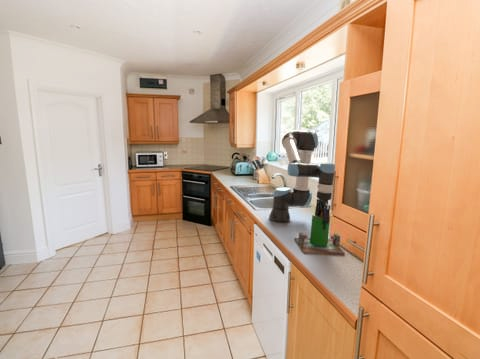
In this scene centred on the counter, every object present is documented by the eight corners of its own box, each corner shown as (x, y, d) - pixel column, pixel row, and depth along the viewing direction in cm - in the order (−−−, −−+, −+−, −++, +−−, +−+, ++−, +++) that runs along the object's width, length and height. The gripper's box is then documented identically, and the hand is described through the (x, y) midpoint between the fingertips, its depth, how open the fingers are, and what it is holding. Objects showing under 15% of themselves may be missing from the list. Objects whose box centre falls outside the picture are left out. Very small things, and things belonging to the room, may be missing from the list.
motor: (315, 237, 151) (318, 204, 147) (330, 242, 145) (334, 207, 142) (307, 242, 143) (311, 207, 139) (323, 247, 137) (327, 211, 134)
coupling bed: (294, 240, 153) (295, 227, 152) (330, 241, 155) (332, 229, 153) (303, 253, 135) (305, 240, 134) (344, 255, 137) (346, 241, 136)
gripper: (311, 187, 149) (307, 225, 153) (324, 195, 129) (319, 238, 133) (324, 188, 150) (319, 225, 154) (339, 196, 130) (333, 239, 134)
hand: (319, 231), depth 143 cm, fingers closed on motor, 7 cm apart
